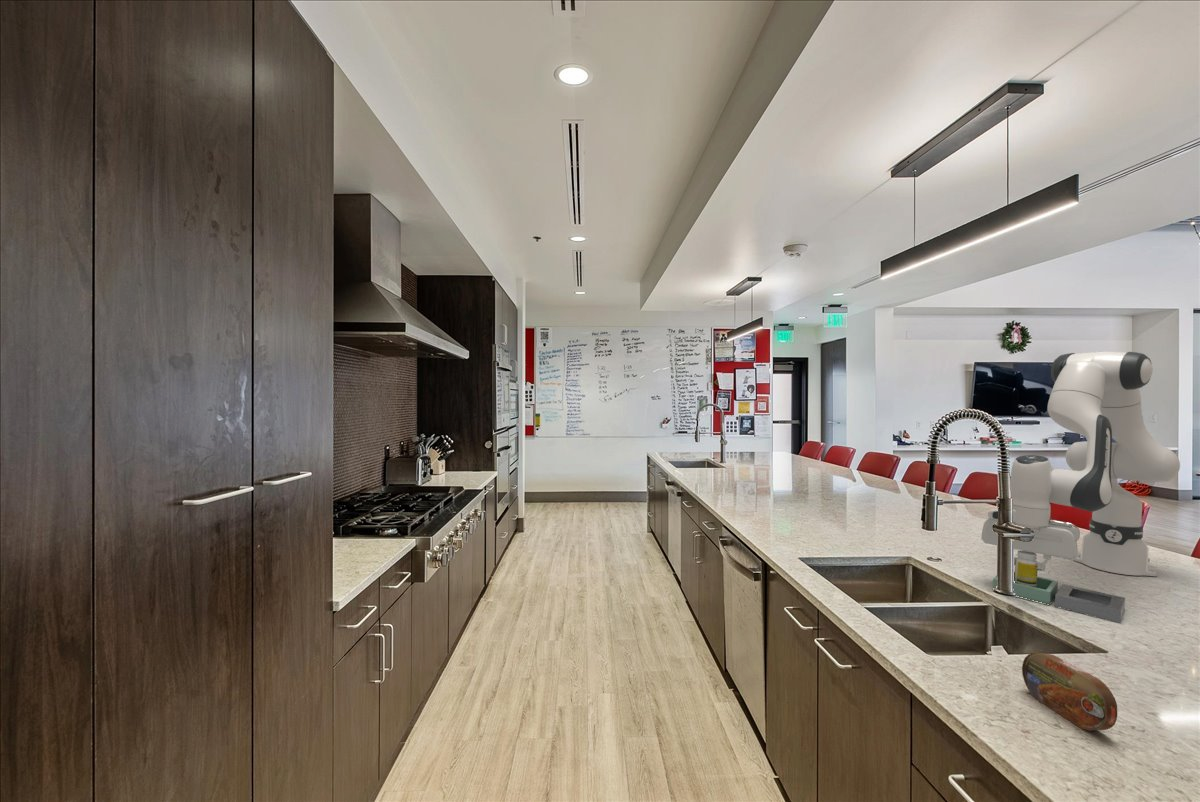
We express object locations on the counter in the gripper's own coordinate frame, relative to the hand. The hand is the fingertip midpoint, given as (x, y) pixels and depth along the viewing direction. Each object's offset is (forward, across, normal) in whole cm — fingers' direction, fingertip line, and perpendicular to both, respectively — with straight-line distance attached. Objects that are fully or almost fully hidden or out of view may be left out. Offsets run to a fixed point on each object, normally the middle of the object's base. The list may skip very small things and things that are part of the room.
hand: (1026, 567), depth 146 cm
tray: (+7, 0, 0) cm, 7 cm away
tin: (+7, -16, +63) cm, 65 cm away
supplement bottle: (+5, 0, 0) cm, 5 cm away
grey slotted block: (+7, -13, 0) cm, 15 cm away
